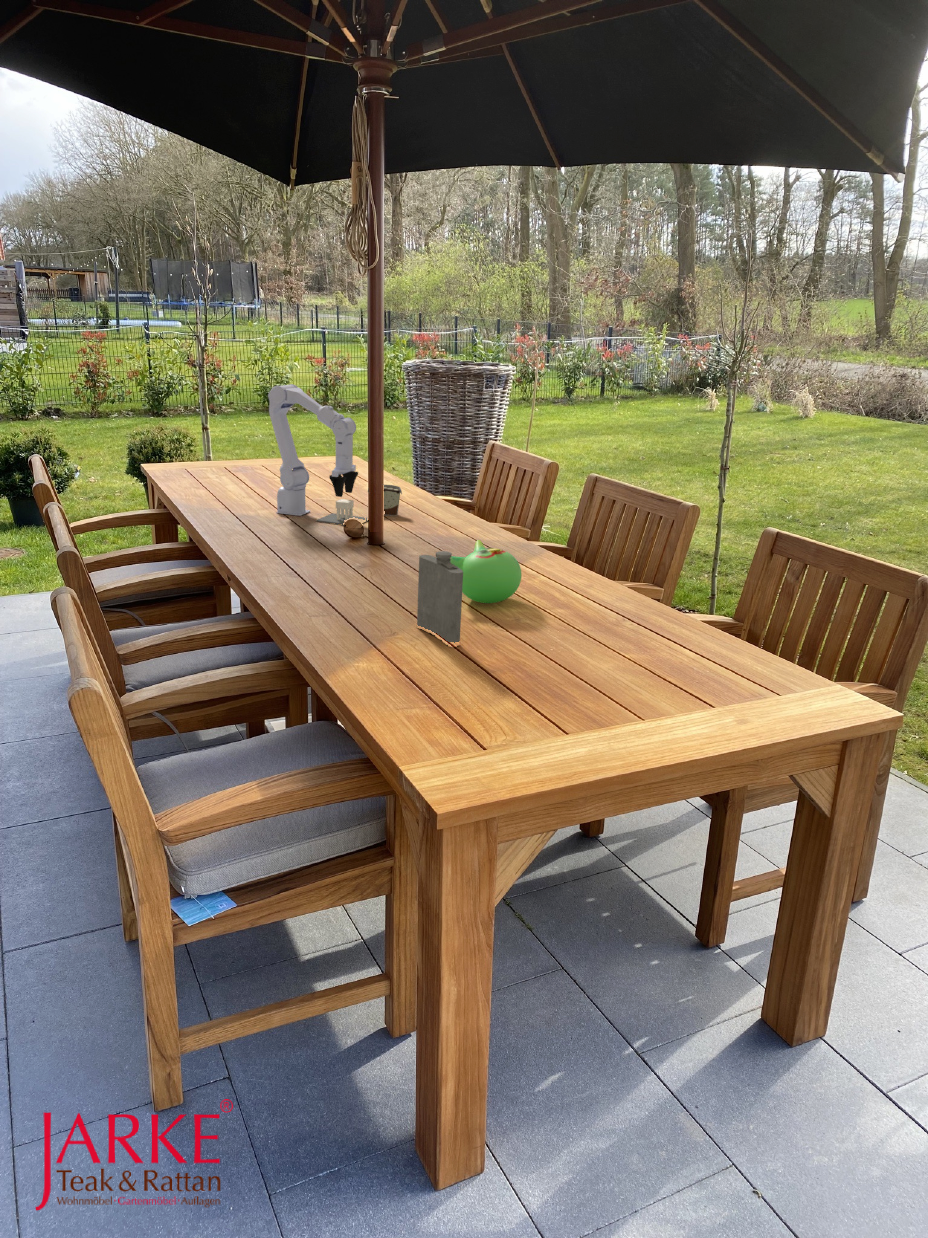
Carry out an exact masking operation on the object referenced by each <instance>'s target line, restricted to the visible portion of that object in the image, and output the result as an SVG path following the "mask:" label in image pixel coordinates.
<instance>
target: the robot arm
mask: <svg viewBox="0 0 928 1238" xmlns="http://www.w3.org/2000/svg"><path fill="white" fill-rule="evenodd" d="M267 396H268V401H269V407H268V415H269V417H270V422H271V425H272V429H273V432H274V436H275V439H276V442H277V447H278V450H279V454H280V457H281V461H282V464H281V465H280V467H279V473H280V474H279V475H280V476H279V482H280V483H281V487H279V488H278V490H277V494H276V503H277V504H276V506H277V507H276V508H277V509H276V510H277V511H276V514H282V515H290V516H296V517H297V516H299V517H301V516H303V515H306V514H307V513H310V512H311V510H309V509H306V508H307V505H306V503H307V502H306V487H307V484H308V483H309V481H310V474H309V471H308V470H307V469H306V467H305V463H303V462H302V461H301V460H300V459H299V457H298V454H297V449H296V446H295V442H294V438H293V435H292V431H291V428H290V424H289V421H288V417H287V413H288V412H289V410H290V408H292V407H293V406H294V405H295V404H298V405H300V406H302V407H303V408H304V409H307V410H308V411H310V413H313V414H314V415H316V417H317V420H318V421H319V422H321V423H322V424H323V425H325V426H326V427H328V428H330V430H331V431H332V433H333V435H334V440H335V467H334V469H333V470H332V471H331V474H330V475H329V480H330V482H331V483H332V486H333V490H334V493H335V497H340V498H342V497H343V495H344V490H345V493H349V494H352V493H353V490H354V486H355V482H356V480H357V477H358V476H359V471H356V469H357V468H356V467H357V465H356V464H353V463H354V461H353V459H354V457H353V456H354V454H353V453H354V452H353V451H354V449H353V447H354V440H353V439H354V434H355V433H356V431H357V425H356V422H355V420H353V418H351V417H345V416H344V414H342V413H338V411H336V410H334V406H331V405H324V406H323V405H322V404H320V403H319V402H317V401H316V400H315V399H314V398H312V397H311V396H309V395H308V394H307V393H306V392H304V390H303V389H302V388H300V387H298V386H297V385H296V384H293V383H290V384H284V385H275V386H272V388H271V389H270V391H269V392H268V394H267Z"/></svg>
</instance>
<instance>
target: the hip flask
mask: <svg viewBox="0 0 928 1238" xmlns="http://www.w3.org/2000/svg"><path fill="white" fill-rule="evenodd" d="M452 554H453V553H452V552H450V551H446V550H440V551H439V550H438V551H436V552H435V555H430V554H421V555H419V556H418V581H417V583H418V584H417V585H418V586H417V588H418V589H417V611H416V612H417V616H416V617H417V618H416V626H417V625H418V626H421V627H424V628H425V629H428V630H431V631H432V632H434V633H437V634H438V635H440V636H441V637H442V638H444V639H445V640H446V641H448V642H454V643H455V642H459V641H461V625H462V605H463V604H462V603H463V602H462V601H463V592H462V586H463V570H461V569H460V568H458V567H457V566H455V565H453V564H452V563H450V560H451V559H450V558H451V556H453V555H452Z"/></svg>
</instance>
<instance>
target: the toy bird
mask: <svg viewBox="0 0 928 1238" xmlns="http://www.w3.org/2000/svg"><path fill="white" fill-rule="evenodd" d="M450 559H451V560H450V563H452V564H453V565H455V566H457V567H458V568H460V569H461V570H463V586H462V594H464V595H465V597H467V598H468V599H470V600H471V601H474V602H477V603H481V604H494V603H499V602H503V601H505V600H508V599H509V598H510V597H512V596H513V595H514V594H515V593H516V592H517V590H518V589H519V587H520V584H521V582H522V569H521V568H522V567H521V565H520V563H519V561H518V559H517V558H515V556H514V555H513V554H511V553H510V552H508V551H506V550H503V549H501V548H494V547H485V545H484V544H483V542H482V541H481V540H480V539H477V540H476V541H475V544H474V549H473V552H471V553H469V554H468V555H466V556H455V555H454V556H453V555H451V558H450Z"/></svg>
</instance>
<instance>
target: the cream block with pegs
mask: <svg viewBox="0 0 928 1238" xmlns="http://www.w3.org/2000/svg"><path fill="white" fill-rule="evenodd" d="M354 502H355V501H354V500H352V499H343V498H341V499H338V500H336V501H335V509H336V514H337V520H340V514H341V518H344V515H345V520H347V519H349V518H353V516H354V515H353V511H354V509H353V508H354V506H355V505H354Z"/></svg>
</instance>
